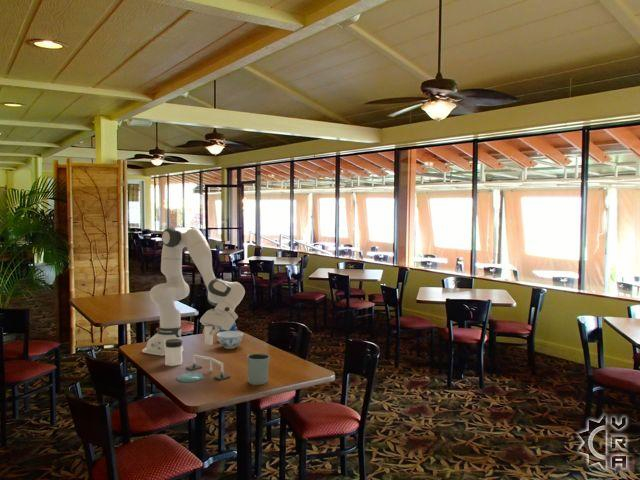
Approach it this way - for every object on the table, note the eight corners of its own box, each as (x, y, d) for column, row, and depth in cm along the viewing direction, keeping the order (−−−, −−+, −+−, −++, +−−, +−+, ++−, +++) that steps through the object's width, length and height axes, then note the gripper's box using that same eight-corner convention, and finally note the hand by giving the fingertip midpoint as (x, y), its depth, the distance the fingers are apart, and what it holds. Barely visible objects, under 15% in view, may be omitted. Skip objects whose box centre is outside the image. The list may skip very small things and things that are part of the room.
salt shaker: (203, 344, 243) (203, 326, 242) (206, 342, 246) (206, 324, 246) (210, 345, 242) (210, 326, 241) (214, 343, 245) (214, 325, 245)
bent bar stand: (185, 368, 251) (185, 354, 250) (195, 366, 255) (195, 352, 255) (220, 380, 233) (220, 365, 233) (230, 377, 238) (230, 362, 237)
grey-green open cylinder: (243, 380, 233) (243, 355, 233) (262, 376, 239) (262, 351, 239) (253, 386, 225) (254, 360, 225) (273, 382, 231) (273, 356, 231)
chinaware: (247, 348, 290) (247, 335, 289) (222, 351, 282) (222, 338, 281) (236, 342, 302) (236, 330, 302) (213, 345, 294) (213, 332, 294)
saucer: (172, 380, 232) (172, 379, 232) (185, 373, 244) (185, 371, 244) (195, 383, 229) (195, 381, 229) (207, 375, 241) (207, 374, 241)
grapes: (235, 337, 315) (235, 318, 315) (238, 339, 309) (238, 320, 309) (216, 339, 310) (216, 319, 310) (219, 341, 304) (219, 322, 304)
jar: (167, 361, 263) (167, 338, 262) (183, 361, 264) (183, 338, 263) (163, 366, 254) (163, 343, 253) (180, 366, 255) (180, 342, 254)
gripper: (206, 304, 255) (190, 326, 248) (233, 309, 242) (217, 333, 235) (213, 312, 259) (198, 334, 252) (240, 317, 246) (224, 341, 239)
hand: (207, 333), depth 243 cm, fingers closed on salt shaker, 4 cm apart
